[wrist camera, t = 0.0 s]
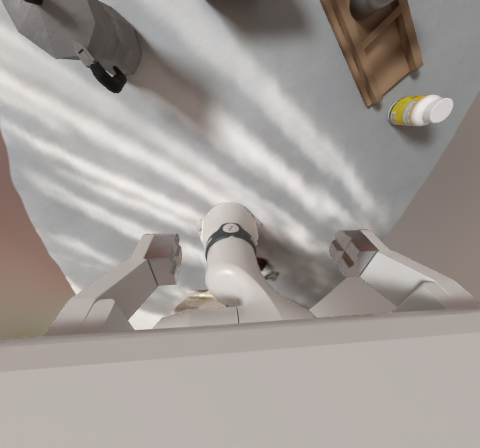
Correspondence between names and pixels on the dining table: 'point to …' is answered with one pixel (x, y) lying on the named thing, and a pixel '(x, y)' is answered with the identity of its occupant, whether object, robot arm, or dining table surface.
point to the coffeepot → (80, 35)
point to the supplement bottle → (419, 110)
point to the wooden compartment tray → (375, 42)
